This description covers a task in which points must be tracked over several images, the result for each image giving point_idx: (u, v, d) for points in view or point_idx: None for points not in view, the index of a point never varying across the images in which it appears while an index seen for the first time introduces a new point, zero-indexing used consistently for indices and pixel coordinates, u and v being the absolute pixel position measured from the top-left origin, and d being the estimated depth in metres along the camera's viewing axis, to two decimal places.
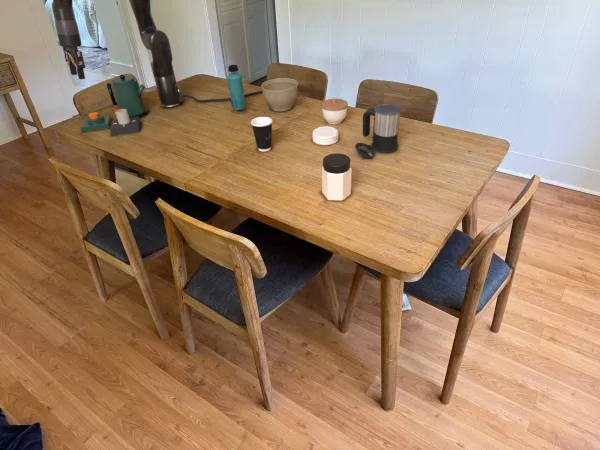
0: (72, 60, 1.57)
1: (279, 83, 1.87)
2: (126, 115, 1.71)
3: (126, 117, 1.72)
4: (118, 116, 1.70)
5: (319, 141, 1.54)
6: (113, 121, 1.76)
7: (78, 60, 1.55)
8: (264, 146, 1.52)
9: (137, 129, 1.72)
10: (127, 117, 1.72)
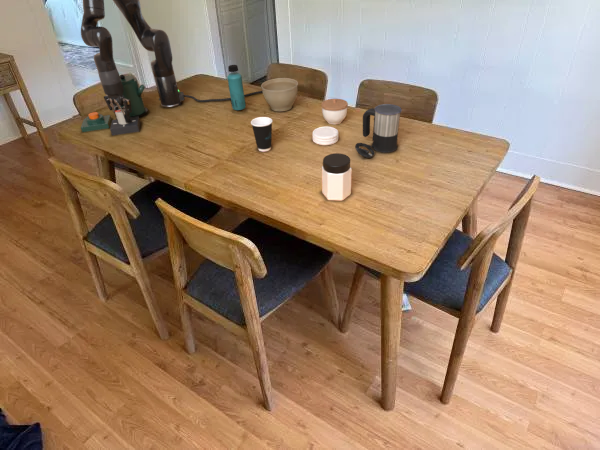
0: (119, 107, 1.67)
1: (279, 83, 1.87)
2: None
3: None
4: (118, 116, 1.70)
5: (319, 141, 1.54)
6: (113, 121, 1.76)
7: (127, 107, 1.66)
8: (264, 146, 1.52)
9: (137, 129, 1.72)
10: None
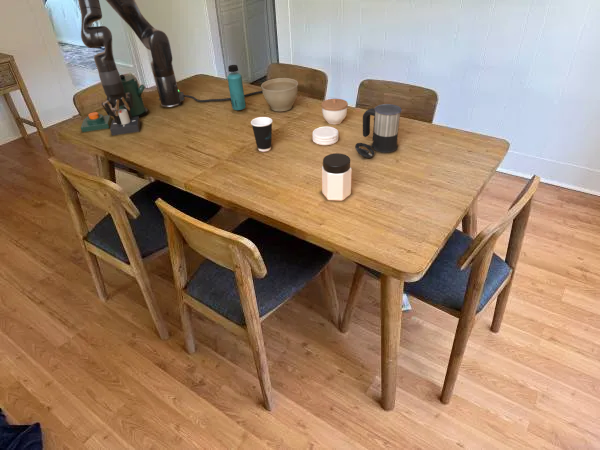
0: (126, 103, 1.71)
1: (279, 83, 1.87)
2: None
3: None
4: (126, 114, 1.71)
5: (319, 141, 1.54)
6: (113, 121, 1.76)
7: None
8: (264, 146, 1.52)
9: (137, 129, 1.72)
10: None
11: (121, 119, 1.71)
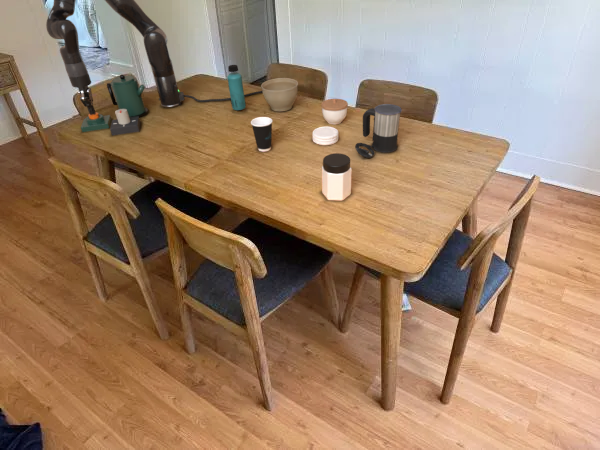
0: (91, 96, 1.74)
1: (279, 83, 1.87)
2: None
3: None
4: (126, 114, 1.71)
5: (319, 141, 1.54)
6: (113, 121, 1.76)
7: None
8: (264, 146, 1.52)
9: (137, 129, 1.72)
10: None
11: (121, 119, 1.71)
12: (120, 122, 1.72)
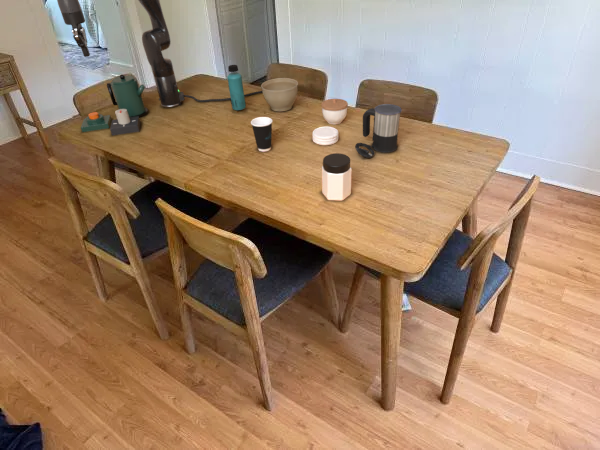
0: (85, 36, 1.67)
1: (279, 83, 1.87)
2: None
3: None
4: (126, 114, 1.71)
5: (319, 141, 1.54)
6: (113, 121, 1.76)
7: None
8: (264, 146, 1.52)
9: (137, 129, 1.72)
10: None
11: (121, 119, 1.71)
12: (120, 122, 1.72)
